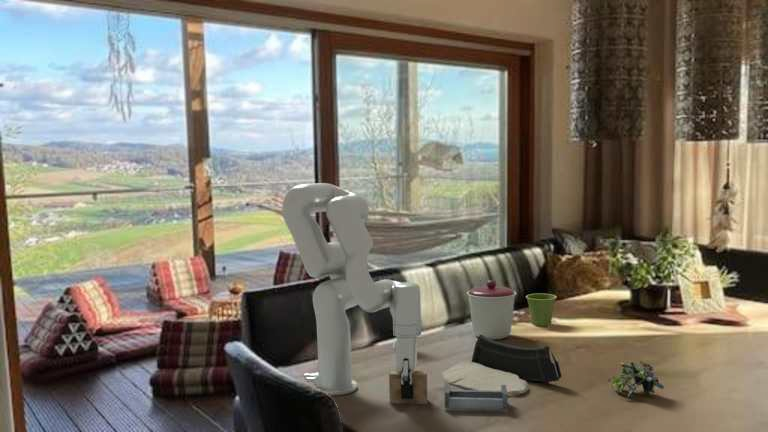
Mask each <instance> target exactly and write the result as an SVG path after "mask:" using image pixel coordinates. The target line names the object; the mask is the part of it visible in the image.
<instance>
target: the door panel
mask: <svg viewBox="0 0 768 432" xmlns="http://www.w3.org/2000/svg"><path fill="white" fill-rule="evenodd" d="M408 372H411V371H408ZM408 376H409V377H410V375H408ZM401 379H402V370H401V373H399V374H397V372H396V370H390V371H389V374H388V381H389V383H388V386H389V390H388V391H389V404H414V403H417V404H416V405H418V404H420V405H421V404H423V405H425V404H426V405H427V404H428V399H429V398H428V370H415V372H414V373H413V374H412V384H413V399H402V398H401Z"/></svg>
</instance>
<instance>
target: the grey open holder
mask: <svg viewBox="0 0 768 432" xmlns="http://www.w3.org/2000/svg"><path fill="white" fill-rule="evenodd" d="M508 397H509V396H507V389H506V385H501V391H490V390H467V389H451V384H449V383H445V388H444V411H445V412H472V413H473V412H477V413H478V412H479V413H481V412H483V413H484V412H485V413H508V412H509V410H508V409H509V408H508V406H509V405H508Z"/></svg>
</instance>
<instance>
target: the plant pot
mask: <svg viewBox="0 0 768 432" xmlns="http://www.w3.org/2000/svg"><path fill="white" fill-rule="evenodd" d="M525 298H526V299H527V304H528V307H529V313H530V319H531V324H532V325H534V326H536V325H539V326H538V327H545V326H547V327H549V326H551V325H552V320H553V319H552V318H553V313H554V312H553V310H554V306H555V302H556V299H557V295H554V294H550V293H531V294H527V295H526V296H525ZM548 325H549V326H548Z"/></svg>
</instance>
